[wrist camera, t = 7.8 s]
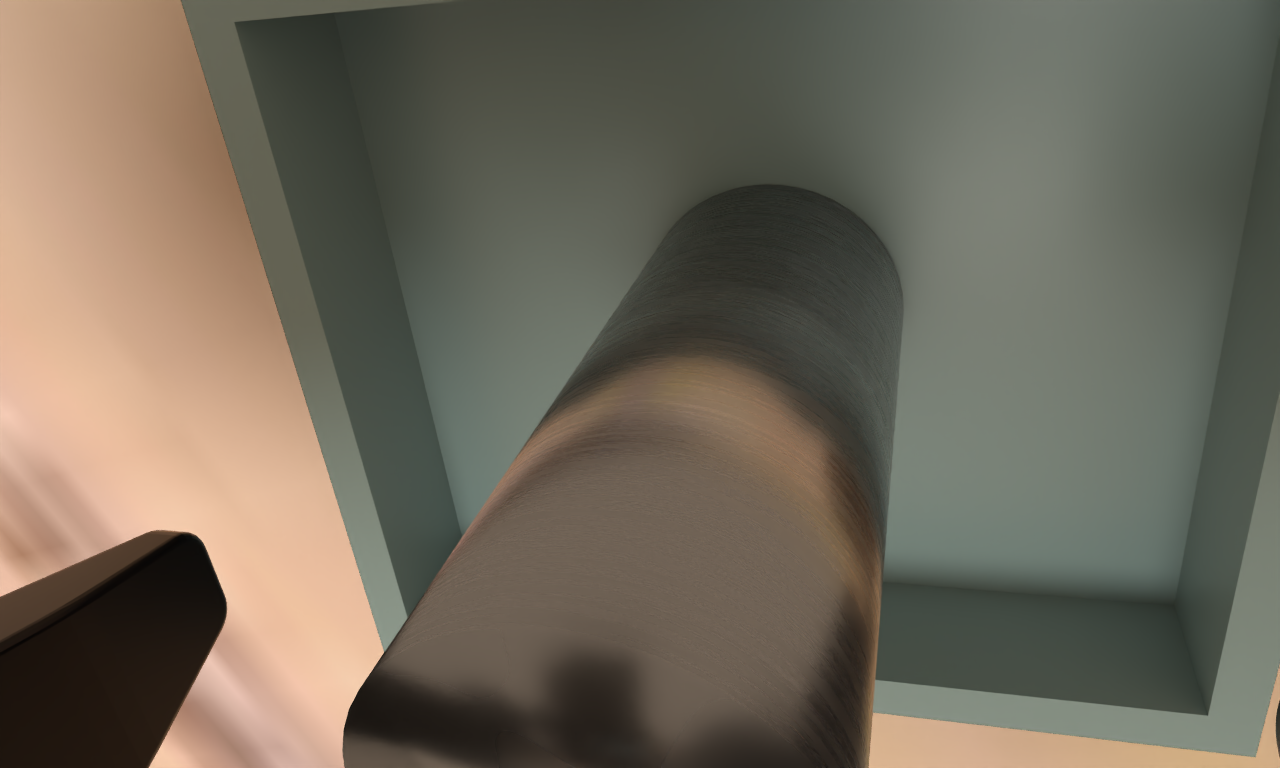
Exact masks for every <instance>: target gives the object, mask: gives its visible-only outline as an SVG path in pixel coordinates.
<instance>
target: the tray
mask: <svg viewBox="0 0 1280 768" xmlns="http://www.w3.org/2000/svg"><path fill="white" fill-rule="evenodd" d="M181 2H182V6H183V9H184V12H185V15H186V18H187V22H188V25H189V28H190V31H191V34H192V38H193V41H194V44H195V47H196V50H197V54H198V57H199V60H200V63H201V66H202V70H203V73H204V76H205V79H206V82H207V86H208V89H209V92H210V95H211V98H212V102H213V105H214V108H215V111H216V114H217V118H218V121H219V124H220V127H221V130H222V134H223V137H224V140H225V143H226V146H227V150H228V153H229V156H230V159H231V163H232V166H233V169H234V172H235V175H236V179H237V182H238V185H239V188H240V191H241V195H242V198H243V201H244V204H245V207H246V211H247V214H248V217H249V220H250V223H251V227H252V230H253V233H254V236H255V239H256V243H257V246H258V249H259V252H260V255H261V259H262V262H263V265H264V268H265V271H266V275H267V278H268V281H269V284H270V287H271V291H272V294H273V297H274V300H275V303H276V307H277V310H278V313H279V316H280V319H281V323H282V326H283V329H284V332H285V336H286V339H287V342H288V345H289V348H290V352H291V355H292V358H293V361H294V364H295V368H296V371H297V374H298V377H299V380H300V384H301V387H302V390H303V393H304V396H305V400H306V403H307V406H308V409H309V412H310V416H311V419H312V422H313V425H314V428H315V432H316V435H317V438H318V441H319V444H320V448H321V451H322V454H323V457H324V460H325V464H326V467H327V470H328V473H329V476H330V480H331V483H332V486H333V489H334V492H335V496H336V499H337V502H338V505H339V509H340V512H341V515H342V518H343V521H344V525H345V528H346V531H347V534H348V537H349V541H350V544H351V547H352V550H353V553H354V557H355V560H356V563H357V566H358V569H359V573H360V576H361V579H362V582H363V585H364V589H365V592H366V595H367V598H368V601H369V605H370V608H371V611H372V614H373V617H374V621H375V624H376V627H377V630H378V633H379V637H380V640H381V643H382V646H383V649H384V652H385V651H386V649H387V648H388V646H389V645H390V643H391V642H392V640H393V639H394V637H395V636H396V634H397V633H398V632H399V630H400V629H401V627H402V626H403V624H404V623H405V621H406V620H407V618H408V617H409V615H410V614H411V612H412V611H413V609H414V608H415V606H416V605H417V603H418V602H419V600H420V599H421V597H422V596H423V594H424V593H425V591H426V590H427V588H428V587H429V586H430V584H431V583H432V581H433V580H434V578H435V577H436V575H437V574H438V572H439V571H440V569H441V568H442V566H443V565H444V563H445V562H446V560H447V559H448V557H449V556H450V554H451V553H452V551H453V550H454V548H455V547H456V545H457V544H458V543H459V541H460V540H461V538H462V537H463V535H464V534H465V532H466V531H467V529H468V528H469V526H470V525H471V523H472V522H473V520H474V519H475V517H476V516H477V514H478V513H479V511H480V510H481V508H482V507H483V505H484V504H485V502H486V501H487V499H488V498H489V497H490V495H491V494H492V492H493V491H494V489H495V488H496V486H497V485H498V483H499V482H500V480H501V479H502V477H503V476H504V474H505V473H506V471H507V470H508V468H509V467H510V465H511V464H512V462H513V461H514V459H515V458H516V456H517V455H518V454H519V452H520V451H521V449H522V448H523V446H524V445H525V443H526V442H527V440H528V439H529V437H530V436H531V434H532V433H533V431H534V430H535V428H536V427H537V425H538V424H539V422H540V421H541V419H542V418H543V416H544V415H545V413H546V412H547V410H548V409H549V408H550V406H551V405H552V403H553V402H554V400H555V399H556V397H557V396H558V394H559V393H560V391H561V390H562V388H563V387H564V385H565V384H566V382H567V381H568V379H569V378H570V376H571V375H572V373H573V372H574V370H575V369H576V367H577V366H578V365H579V363H580V362H581V360H582V359H583V357H584V356H585V354H586V353H587V351H588V350H589V348H590V347H591V345H592V344H593V342H594V341H595V339H596V338H597V336H598V335H599V333H600V332H601V330H602V329H603V327H604V326H605V324H606V323H607V321H608V320H609V319H610V317H611V316H612V314H613V313H614V311H615V310H616V308H617V307H618V305H619V304H620V302H621V301H622V299H623V298H624V296H625V295H626V293H627V292H628V290H629V289H630V287H631V286H632V284H633V283H634V281H635V280H636V278H637V277H638V276H639V274H640V273H641V271H642V270H643V268H644V267H645V265H646V264H647V262H648V261H649V259H650V258H651V256H652V255H653V253H654V252H655V250H656V249H657V247H658V246H659V244H660V243H661V241H662V240H663V238H664V237H665V236H666V234H667V233H668V232H669V230H670V229H671V228H672V227H673V225H674V224H675V223H676V222H677V221H678V220H679V219H680V218H681V217H682V216H683V215H684V214H685V213H687V212H688V211H689V210H691V209H692V208H694V207H695V206H696V205H698V204H699V203H701V202H703V201H705V200H707V199H708V198H710V197H712V196H714V195H717V194H720V193H722V192H725V191H728V190H731V189H735V188H740V187H744V186H751V185H761V184H773V185H786V186H793V187H799V188H803V189H806V190H810V191H813V192H816V193H819V194H821V195H823V196H826V197H828V198H830V199H833V200H835V201H836V202H838V203H840V204H841V205H843V206H845V207H846V208H848V209H850V210H851V211H852V212H853V213H855V214H856V215H857V216H858V217H860V218H861V219H862V220H863V221H864V222H865V223H866V224H867V225H868V226H869V227H870V228H871V229H872V230H873V231H874V232H875V233H876V234H877V236H878V237H879V239H880V240H881V241H882V243H883V244H884V245H885V247H886V248H887V250H888V252H889V254H890V256H891V258H892V260H893V261H894V264H895V267H896V269H897V272H898V275H899V278H900V282H901V287H902V292H903V304H904V314H903V327H902V340H901V353H900V366H899V379H898V392H897V405H896V417H895V430H894V443H893V456H892V469H891V482H890V495H889V508H888V521H887V533H886V546H885V559H884V572H883V585H882V598H881V611H880V624H879V637H878V650H877V662H876V675H875V688H874V701H873V712H874V713H882V714H891V715H899V716H908V717H916V718H925V719H934V720H942V721H951V722H959V723H968V724H976V725H985V726H993V727H1002V728H1010V729H1019V730H1028V731H1036V732H1045V733H1053V734H1062V735H1070V736H1079V737H1087V738H1096V739H1105V740H1113V741H1122V742H1130V743H1139V744H1147V745H1156V746H1164V747H1173V748H1181V749H1190V750H1199V751H1207V752H1216V753H1224V754H1233V755H1241V756H1250V757H1256V753H1257V749H1258V746H1259V742H1260V738H1261V734H1262V730H1263V726H1264V722H1265V718H1266V715H1267V711H1268V707H1269V703H1270V699H1271V695H1272V691H1273V688H1274V684H1275V680H1276V676H1277V672H1278V668H1279V664H1280V0H181Z"/></svg>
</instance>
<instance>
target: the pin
mask: <svg viewBox="0 0 1280 768" xmlns="http://www.w3.org/2000/svg"><path fill="white" fill-rule="evenodd" d="M903 314H904V304H903V292H902V287H901V282H900V278H899V275H898V272H897V269H896V267H895V264H894V261H893V260H892V258H891V256H890V254H889V252H888V250H887V248H886V247H885V245H884V244H883V243H882V241H881V240H880V239H879V237H878V236H877V234H876V233H875V232H874V231H873V230H872V229H871V228H870V227H869V226H868V225H867V224H866V223H865V222H864V221H863V220H862V219H861V218H860V217H858V216H857V215H856V214H855V213H853V212H852V211H851V210H850V209H848V208H846V207H845V206H843V205H841V204H840V203H838V202H836V201H835V200H833V199H830V198H828V197H826V196H823V195H821V194H819V193H816V192H813V191H810V190H806V189H803V188H799V187H793V186H786V185H773V184H761V185H751V186H744V187H740V188H735V189H731V190H728V191H725V192H722V193H720V194H717V195H714V196H712V197H710V198H708V199H707V200H705V201H703V202H701V203H699V204H698V205H696V206H695V207H694V208H692V209H691V210H689V211H688V212H687V213H685V214H684V215H683V216H682V217H681V218H680V219H679V220H678V221H677V222H676V223H675V224H674V225H673V227H672V228H671V229H670V230H669V232H668V233H667V234H666V236H665V237H664V238H663V240H662V241H661V243H660V244H659V246H658V247H657V249H656V250H655V252H654V253H653V255H652V256H651V258H650V259H649V261H648V262H647V264H646V265H645V267H644V268H643V270H642V271H641V273H640V274H639V276H638V277H637V278H636V280H635V281H634V283H633V284H632V286H631V287H630V289H629V290H628V292H627V293H626V295H625V296H624V298H623V299H622V301H621V302H620V304H619V305H618V307H617V308H616V310H615V311H614V313H613V314H612V316H611V317H610V319H609V320H608V321H607V323H606V324H605V326H604V327H603V329H602V330H601V332H600V333H599V335H598V336H597V338H596V339H595V341H594V342H593V344H592V345H591V347H590V348H589V350H588V351H587V353H586V354H585V356H584V357H583V359H582V360H581V362H580V363H579V365H578V366H577V367H576V369H575V370H574V372H573V373H572V375H571V376H570V378H569V379H568V381H567V382H566V384H565V385H564V387H563V388H562V390H561V391H560V393H559V394H558V396H557V397H556V399H555V400H554V402H553V403H552V405H551V406H550V408H549V409H548V410H547V412H546V413H545V415H544V416H543V418H542V419H541V421H540V422H539V424H538V425H537V427H536V428H535V430H534V431H533V433H532V434H531V436H530V437H529V439H528V440H527V442H526V443H525V445H524V446H523V448H522V449H521V451H520V452H519V454H518V455H517V456H516V458H515V459H514V461H513V462H512V464H511V465H510V467H509V468H508V470H507V471H506V473H505V474H504V476H503V477H502V479H501V480H500V482H499V483H498V485H497V486H496V488H495V489H494V491H493V492H492V494H491V495H490V497H489V498H488V499H487V501H486V502H485V504H484V505H483V507H482V508H481V510H480V511H479V513H478V514H477V516H476V517H475V519H474V520H473V522H472V523H471V525H470V526H469V528H468V529H467V531H466V532H465V534H464V535H463V537H462V538H461V540H460V541H459V543H458V544H457V545H456V547H455V548H454V550H453V551H452V553H451V554H450V556H449V557H448V559H447V560H446V562H445V563H444V565H443V566H442V568H441V569H440V571H439V572H438V574H437V575H436V577H435V578H434V580H433V581H432V583H431V584H430V586H429V587H428V588H427V590H426V591H425V593H424V594H423V596H422V597H421V599H420V600H419V602H418V603H417V605H416V606H415V608H414V609H413V611H412V612H411V614H410V615H409V617H408V618H407V620H406V621H405V623H404V624H403V626H402V627H401V629H400V630H399V632H398V633H397V634H396V636H395V637H394V639H393V640H392V642H391V643H390V645H389V646H388V648H387V649H386V651H385V652H384V654H383V655H382V657H381V658H380V660H379V661H378V663H377V664H376V666H375V667H374V669H373V670H372V672H371V673H370V675H369V676H368V677H367V679H366V680H365V682H364V683H363V685H362V686H361V688H360V689H359V691H358V693H357V695H356V697H355V699H354V701H353V703H352V705H351V707H350V708H349V712H348V716H347V719H346V723H345V727H344V735H343V758H344V766H345V768H868V766H869V753H870V740H871V727H872V714H873V701H874V688H875V675H876V662H877V650H878V637H879V624H880V611H881V598H882V585H883V572H884V559H885V546H886V533H887V521H888V508H889V495H890V482H891V469H892V456H893V443H894V430H895V417H896V405H897V392H898V379H899V366H900V353H901V340H902V327H903Z"/></svg>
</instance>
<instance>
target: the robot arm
mask: <svg viewBox="0 0 1280 768" xmlns="http://www.w3.org/2000/svg"><path fill="white" fill-rule="evenodd" d="M226 615H227V602H226V598H225V595H224V593H223V590H222V588H221V585H220V583H219V580H218V577H217V575H216V572H215V570H214V567H213V565H212V562H211V560H210V557H209V555H208V552H207V550H206V547H205V546H204V544H203V542H202V541H201V540H200V539H199V538H198V537H197V536H196V535H194V534H191V533H188V532H178V531H166V530H156V531H151V532H148V533H145V534H143V535H140V536H138V537H136V538H134V539H131V540H129V541H127V542H125V543H122V544H120V545H118V546H115V547H113V548H111V549H109V550H106V551H104V552H102V553H99V554H97V555H95V556H93V557H90V558H88V559H86V560H83V561H81V562H79V563H77V564H74V565H72V566H70V567H67V568H65V569H63V570H61V571H58V572H56V573H54V574H51V575H49V576H47V577H45V578H42V579H40V580H38V581H35V582H33V583H31V584H29V585H26V586H24V587H22V588H19V589H17V590H15V591H13V592H10V593H8V594H6V595H3V596H1V597H0V768H149V766H150V764H151V762H152V761H153V759H154V757H155V755H156V753H157V752H158V750H159V748H160V746H161V744H162V742H163V740H164V739H165V737H166V735H167V733H168V731H169V729H170V727H171V725H172V723H173V721H174V720H175V718H176V716H177V714H178V712H179V710H180V708H181V706H182V704H183V702H184V701H185V699H186V697H187V695H188V693H189V691H190V689H191V687H192V685H193V684H194V682H195V680H196V678H197V676H198V674H199V672H200V670H201V668H202V666H203V665H204V663H205V661H206V659H207V657H208V655H209V653H210V651H211V649H212V647H213V646H214V644H215V642H216V640H217V638H218V636H219V634H220V632H221V630H222V628H223V626H224V623H225V620H226ZM1276 739H1277V746H1278V752H1279V756H1280V701H1279V705H1278V709H1277V715H1276Z"/></svg>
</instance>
